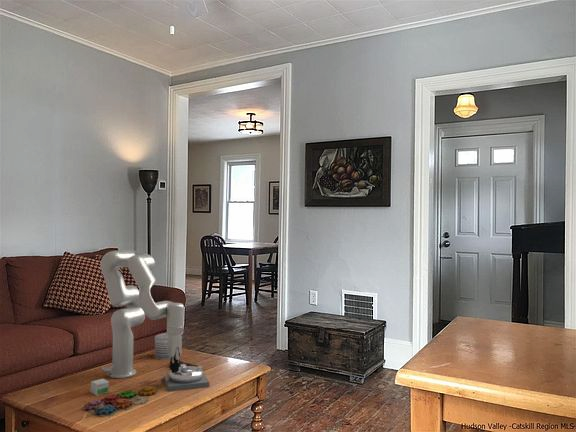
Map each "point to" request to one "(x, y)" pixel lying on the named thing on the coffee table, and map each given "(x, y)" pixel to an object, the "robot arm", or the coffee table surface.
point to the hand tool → (186, 363)
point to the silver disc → (186, 374)
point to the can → (161, 346)
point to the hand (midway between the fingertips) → (174, 370)
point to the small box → (99, 386)
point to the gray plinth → (181, 386)
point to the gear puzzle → (119, 402)
